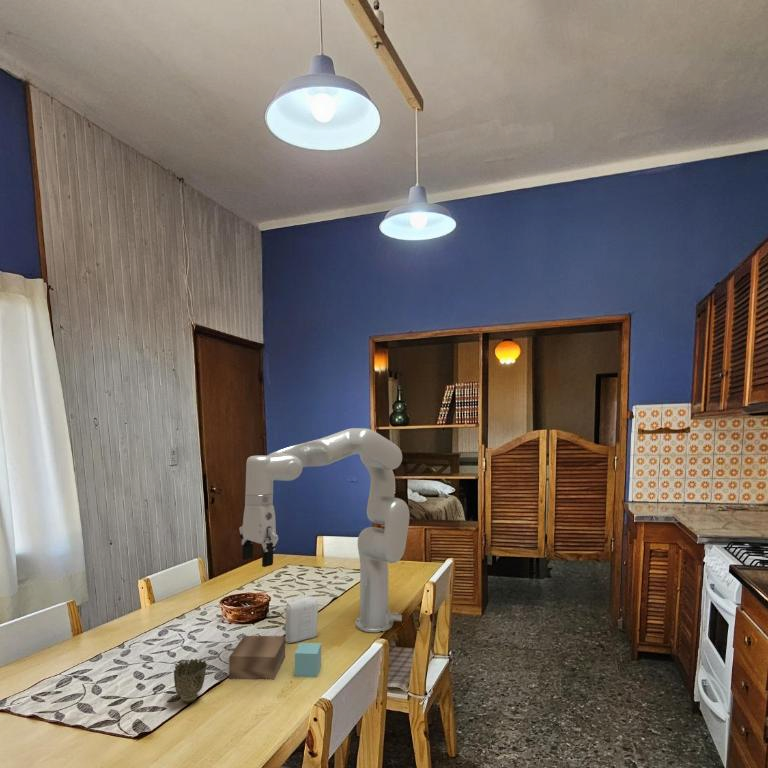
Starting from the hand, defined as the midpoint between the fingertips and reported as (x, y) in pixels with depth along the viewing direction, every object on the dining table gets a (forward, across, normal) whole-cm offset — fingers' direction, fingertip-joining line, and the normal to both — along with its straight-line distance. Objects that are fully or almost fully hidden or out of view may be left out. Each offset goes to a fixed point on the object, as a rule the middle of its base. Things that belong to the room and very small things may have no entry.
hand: (257, 562), depth 132 cm
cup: (+29, -1, +19) cm, 34 cm away
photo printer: (+28, +4, -20) cm, 35 cm away
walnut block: (+29, 0, -1) cm, 29 cm away
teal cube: (+28, -12, -9) cm, 32 cm away
